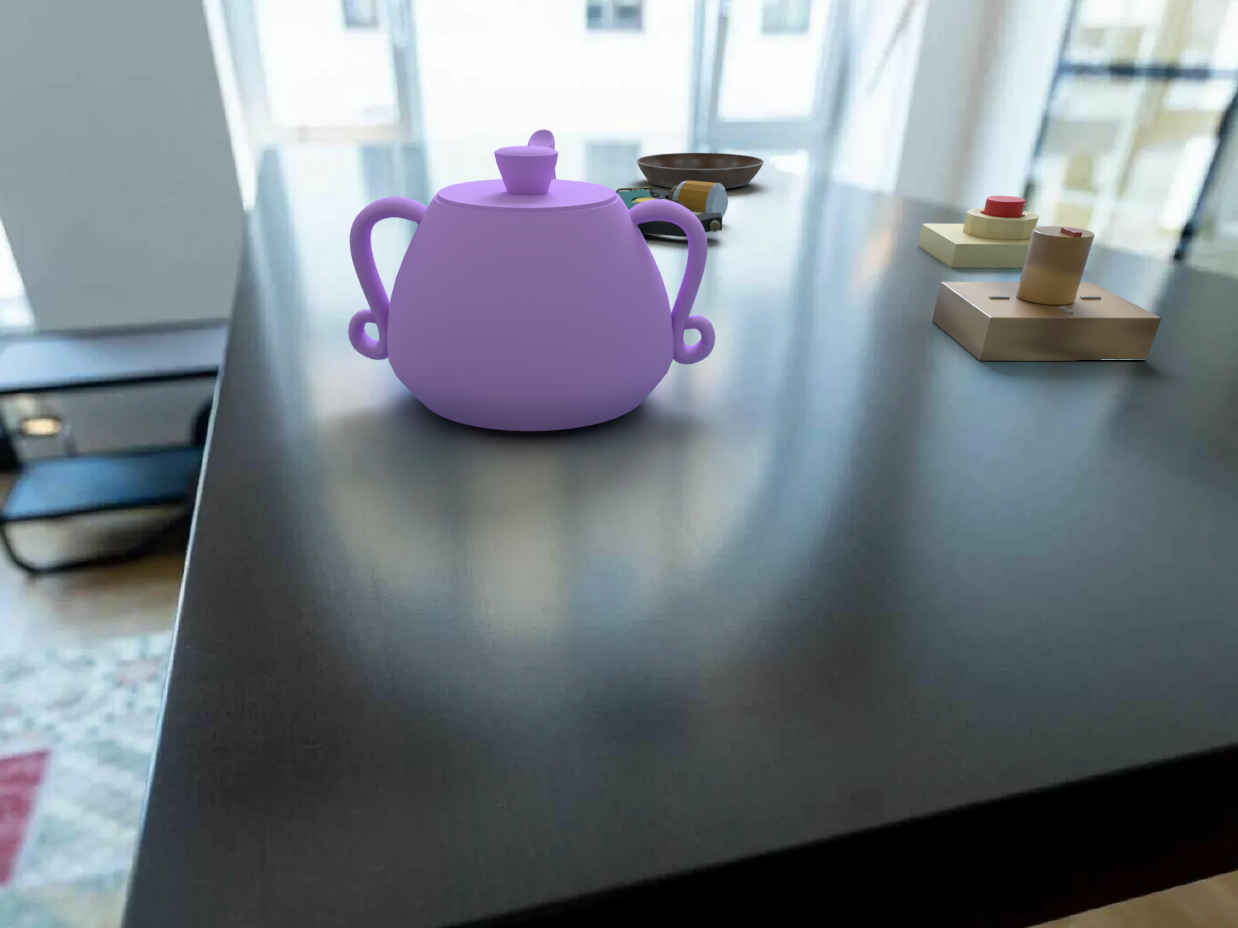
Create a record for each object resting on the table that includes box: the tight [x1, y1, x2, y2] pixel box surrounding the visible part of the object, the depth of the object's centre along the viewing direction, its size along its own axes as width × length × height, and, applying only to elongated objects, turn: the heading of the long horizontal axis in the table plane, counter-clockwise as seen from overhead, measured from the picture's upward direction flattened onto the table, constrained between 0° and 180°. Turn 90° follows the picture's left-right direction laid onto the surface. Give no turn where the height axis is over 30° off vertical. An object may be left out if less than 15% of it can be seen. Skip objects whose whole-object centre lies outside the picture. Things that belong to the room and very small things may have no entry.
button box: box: [917, 207, 1041, 269], centre depth 90 cm, size 12×10×4 cm
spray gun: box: [615, 181, 729, 238], centre depth 100 cm, size 4×17×15 cm
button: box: [983, 195, 1027, 218], centre depth 88 cm, size 4×4×2 cm
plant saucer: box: [636, 152, 765, 190], centre depth 127 cm, size 18×18×3 cm
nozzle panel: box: [931, 281, 1162, 362], centre depth 67 cm, size 12×10×3 cm
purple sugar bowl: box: [347, 129, 716, 432], centre depth 54 cm, size 22×22×14 cm
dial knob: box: [1016, 225, 1096, 305], centre depth 65 cm, size 4×4×5 cm
